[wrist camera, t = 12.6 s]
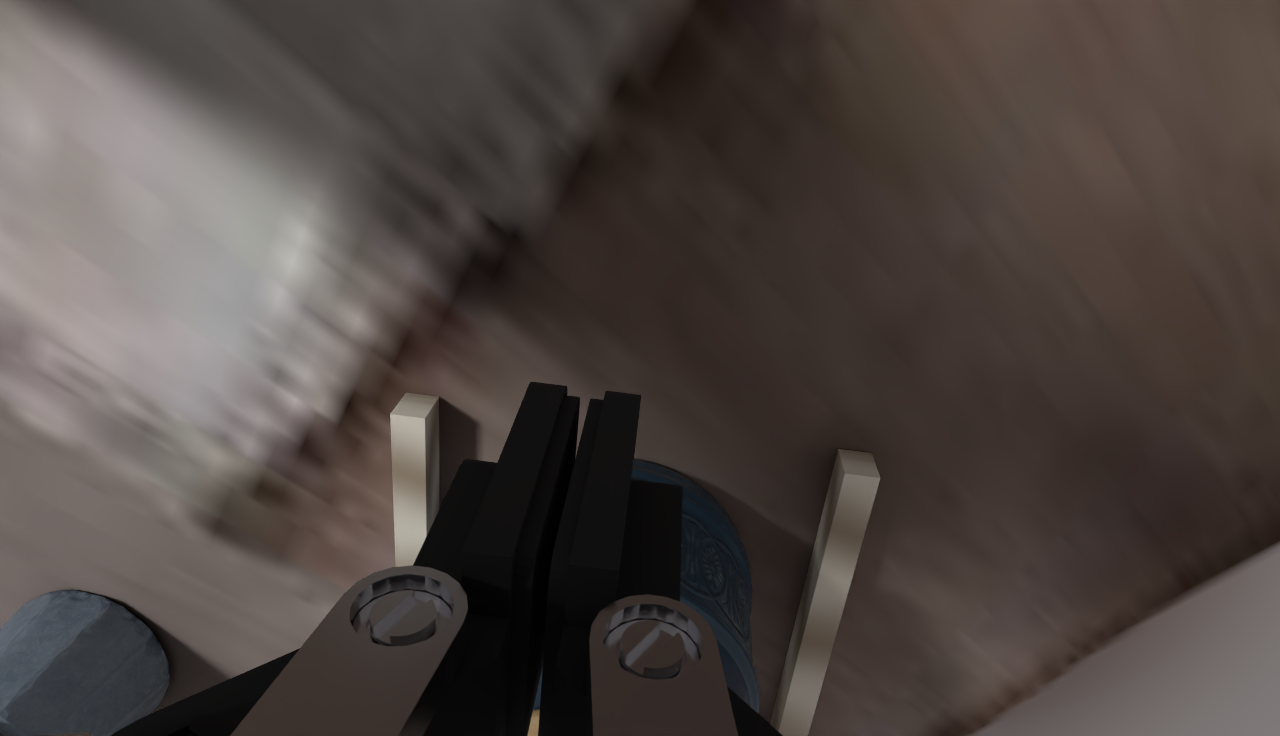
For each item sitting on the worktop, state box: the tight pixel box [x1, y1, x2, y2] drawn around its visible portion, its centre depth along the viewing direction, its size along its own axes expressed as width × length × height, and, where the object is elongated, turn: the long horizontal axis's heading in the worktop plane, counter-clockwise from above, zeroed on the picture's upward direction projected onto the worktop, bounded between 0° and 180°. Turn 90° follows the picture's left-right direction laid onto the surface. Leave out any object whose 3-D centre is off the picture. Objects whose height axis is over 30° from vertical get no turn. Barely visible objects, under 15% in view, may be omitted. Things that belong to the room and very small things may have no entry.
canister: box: [528, 459, 760, 736], centre depth 32 cm, size 13×13×18 cm
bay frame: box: [390, 393, 880, 736], centre depth 40 cm, size 20×21×2 cm
